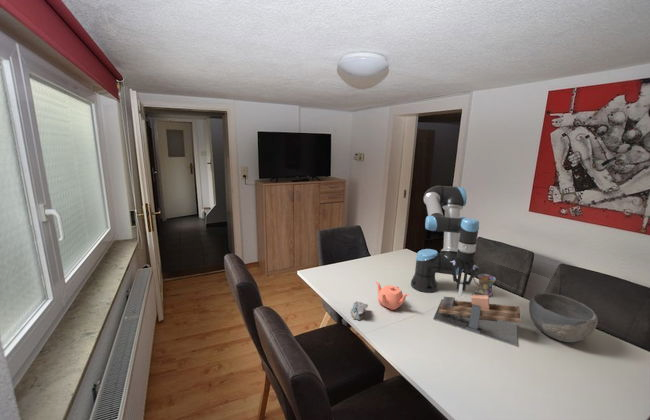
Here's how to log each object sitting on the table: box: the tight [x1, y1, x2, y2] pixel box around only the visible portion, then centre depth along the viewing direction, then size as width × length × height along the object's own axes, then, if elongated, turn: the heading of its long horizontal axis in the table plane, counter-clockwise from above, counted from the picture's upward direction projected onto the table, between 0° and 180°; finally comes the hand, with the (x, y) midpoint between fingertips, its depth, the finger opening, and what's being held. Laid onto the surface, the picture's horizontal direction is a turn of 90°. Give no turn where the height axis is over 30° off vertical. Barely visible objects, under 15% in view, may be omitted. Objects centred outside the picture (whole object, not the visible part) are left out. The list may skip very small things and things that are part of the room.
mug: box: [472, 273, 497, 297], centre depth 169 cm, size 12×9×11 cm
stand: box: [432, 290, 518, 347], centre depth 138 cm, size 35×18×13 cm, turn 58°
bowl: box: [528, 292, 599, 343], centre depth 131 cm, size 24×24×15 cm
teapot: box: [375, 281, 410, 311], centre depth 152 cm, size 14×14×11 cm
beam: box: [438, 296, 522, 323], centre depth 138 cm, size 34×12×7 cm, turn 58°
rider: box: [470, 293, 490, 310], centre depth 137 cm, size 7×4×7 cm, turn 58°
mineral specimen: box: [350, 301, 369, 321], centre depth 142 cm, size 10×8×10 cm
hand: (459, 295), depth 141 cm, fingers closed
